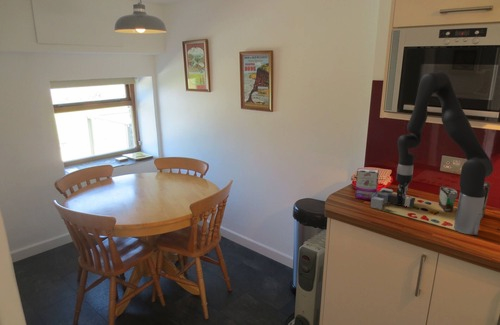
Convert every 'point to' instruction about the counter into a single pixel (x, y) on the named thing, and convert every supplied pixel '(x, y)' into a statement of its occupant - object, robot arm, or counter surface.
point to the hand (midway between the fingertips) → (400, 203)
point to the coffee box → (486, 186)
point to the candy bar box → (366, 183)
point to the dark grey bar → (406, 200)
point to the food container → (447, 198)
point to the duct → (380, 198)
